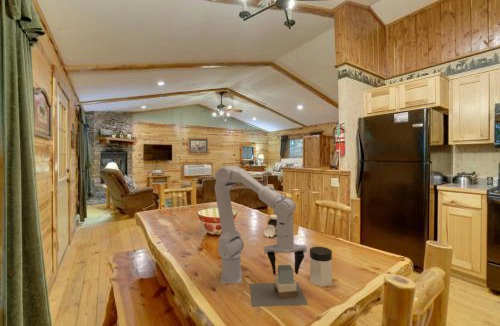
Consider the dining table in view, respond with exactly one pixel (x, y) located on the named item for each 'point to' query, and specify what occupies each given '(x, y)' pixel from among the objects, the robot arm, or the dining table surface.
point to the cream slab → (285, 286)
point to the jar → (320, 266)
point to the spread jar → (271, 226)
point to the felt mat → (273, 296)
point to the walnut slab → (285, 293)
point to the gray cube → (285, 274)
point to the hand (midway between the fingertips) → (285, 273)
